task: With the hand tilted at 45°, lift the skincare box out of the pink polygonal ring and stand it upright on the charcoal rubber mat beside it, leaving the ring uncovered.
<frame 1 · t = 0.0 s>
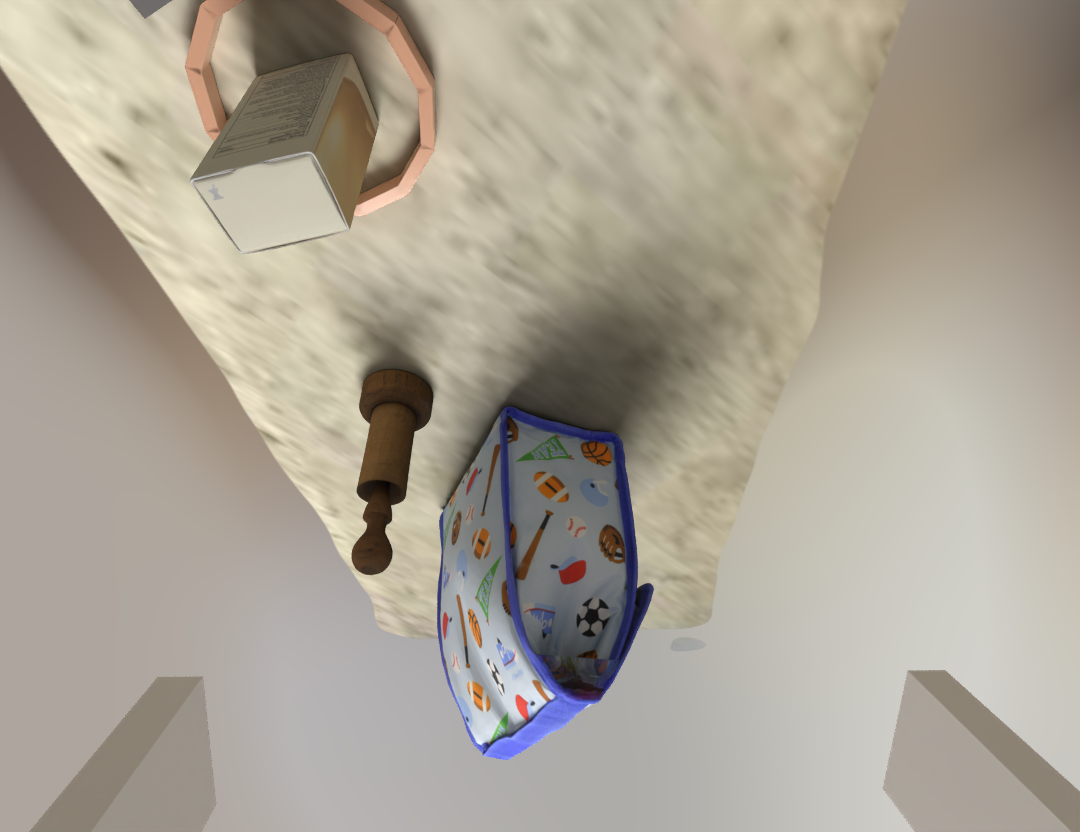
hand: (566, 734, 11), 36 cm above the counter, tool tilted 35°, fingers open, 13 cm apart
pink polygonal ring: (321, 100, 37), on the counter
lunch bag: (528, 474, 68), on the counter
mortar and pestle: (398, 391, 57), on the counter
skincare box: (322, 98, 37), resting in pink polygonal ring
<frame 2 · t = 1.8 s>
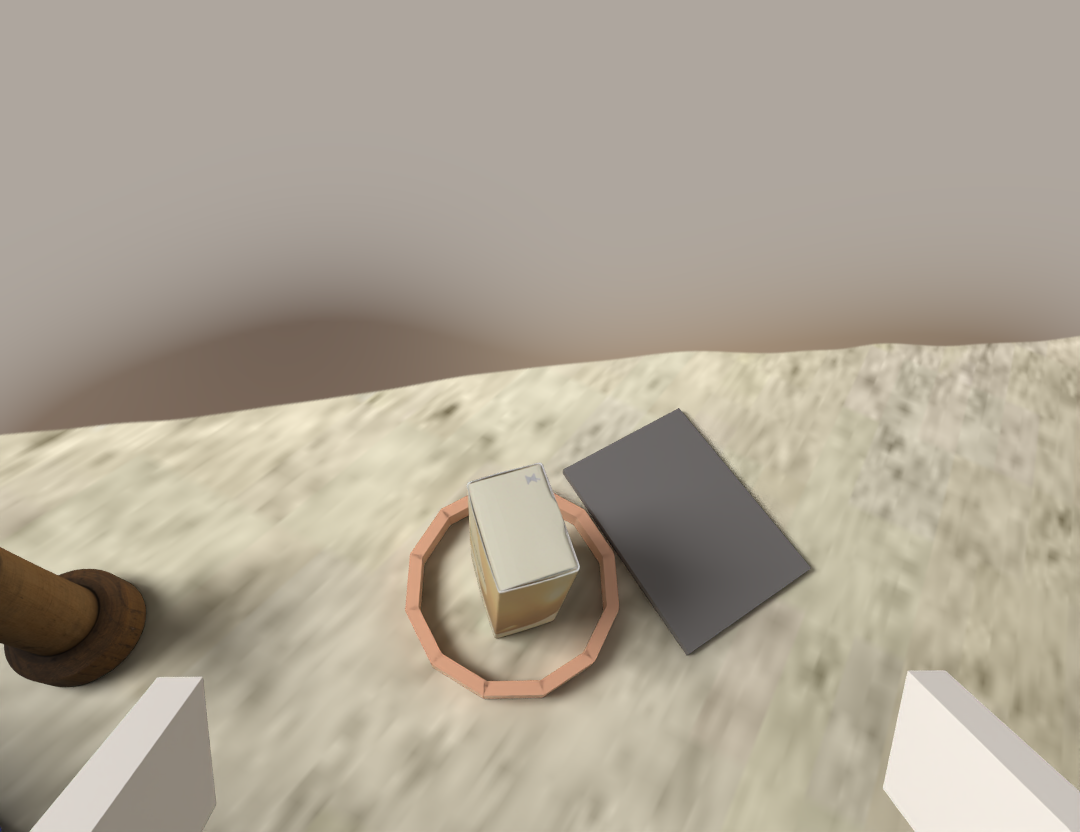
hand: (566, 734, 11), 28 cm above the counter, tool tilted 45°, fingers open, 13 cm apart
pink polygonal ring: (512, 587, 41), on the counter
rubber mat: (681, 520, 44), on the counter
mortar and pestle: (90, 630, 38), on the counter
skincare box: (512, 588, 41), resting in pink polygonal ring
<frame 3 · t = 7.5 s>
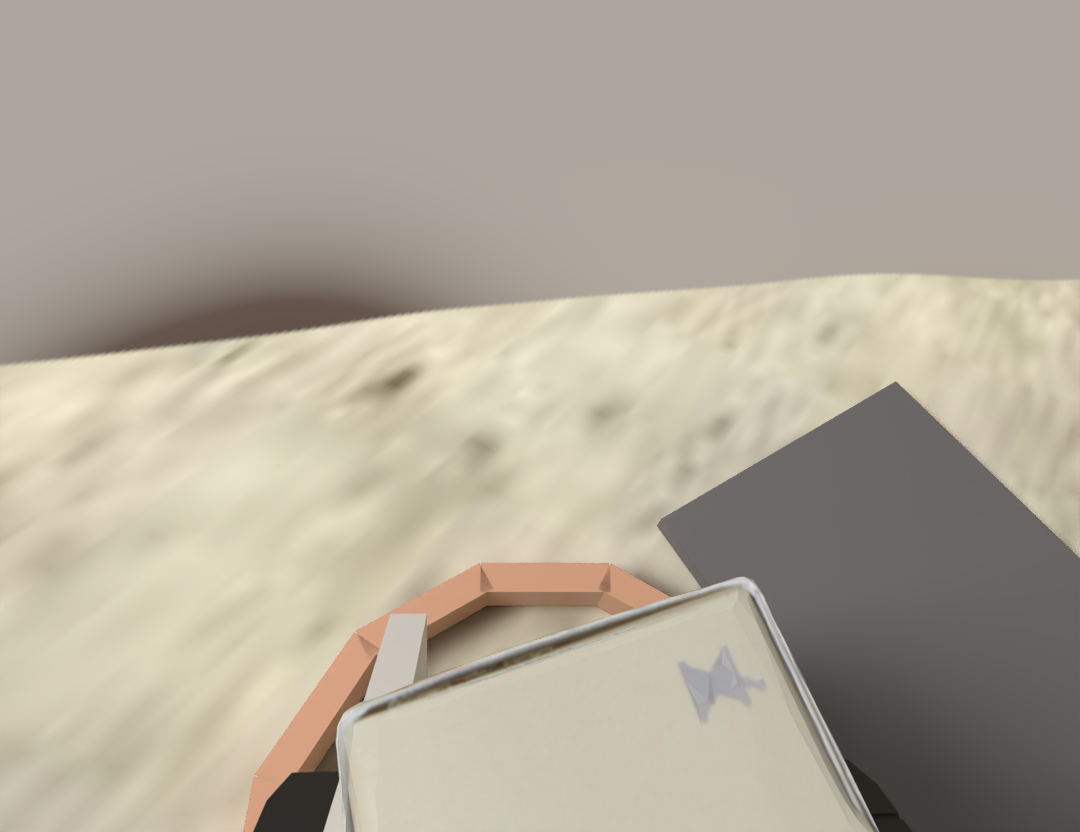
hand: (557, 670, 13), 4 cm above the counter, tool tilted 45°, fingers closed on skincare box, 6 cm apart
rubber mat: (952, 647, 18), on the counter
when the fingers open (6 cm above the counter, at t = 12.5 s): skincare box drops 1 cm, resting on rubber mat.
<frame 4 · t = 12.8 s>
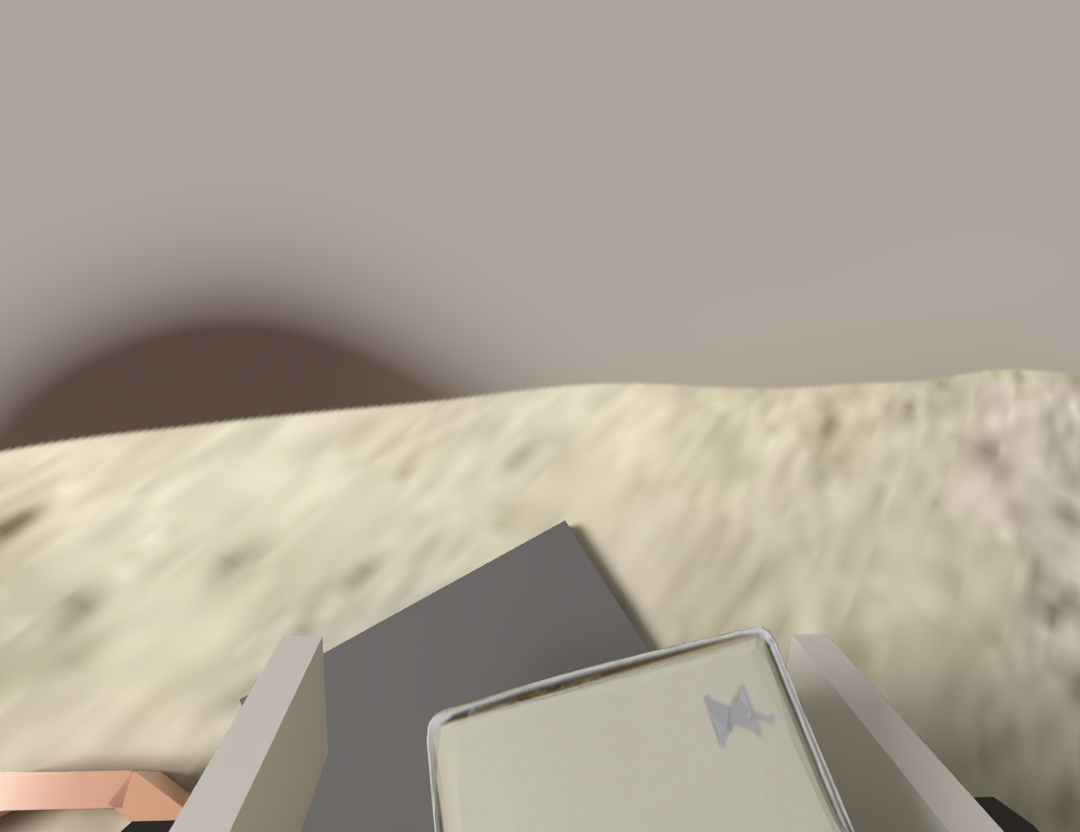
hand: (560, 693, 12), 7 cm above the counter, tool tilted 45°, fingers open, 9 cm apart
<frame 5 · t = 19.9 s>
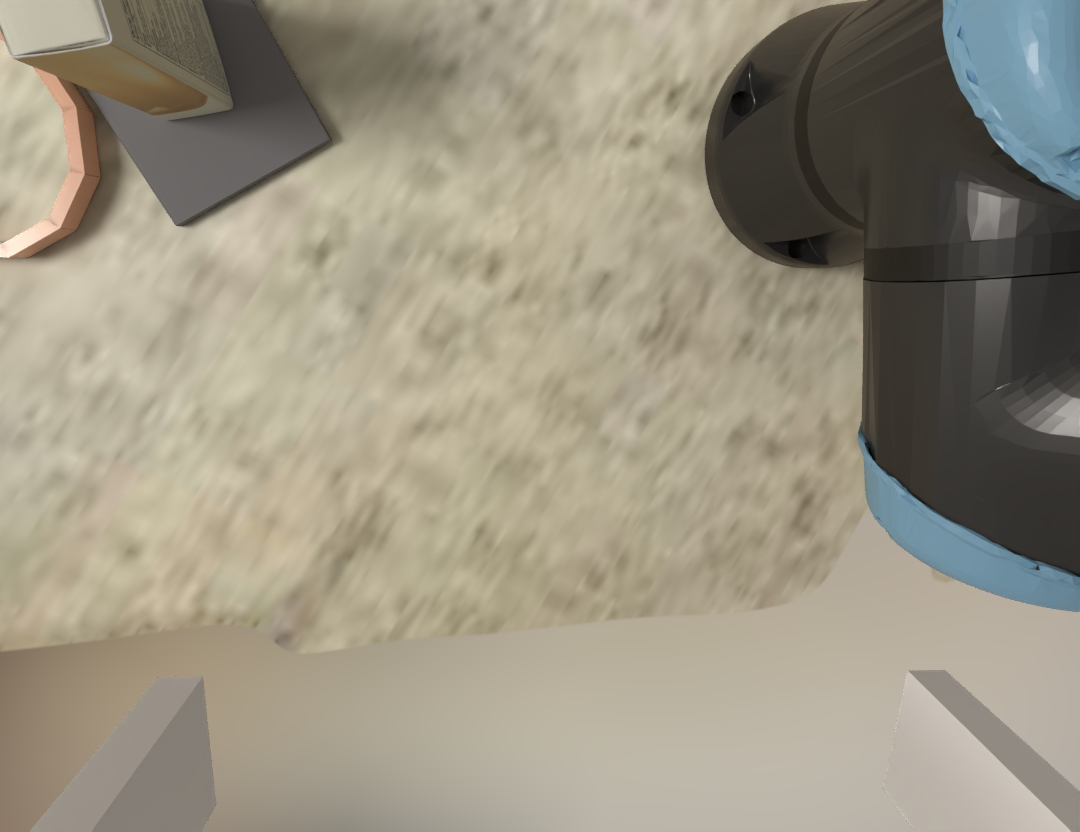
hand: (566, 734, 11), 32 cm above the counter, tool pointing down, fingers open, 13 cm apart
rubber mat: (183, 64, 36), on the counter
skincare box: (186, 64, 36), resting on rubber mat
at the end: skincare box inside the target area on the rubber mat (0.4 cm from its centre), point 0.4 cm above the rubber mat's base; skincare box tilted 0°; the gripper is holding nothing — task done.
